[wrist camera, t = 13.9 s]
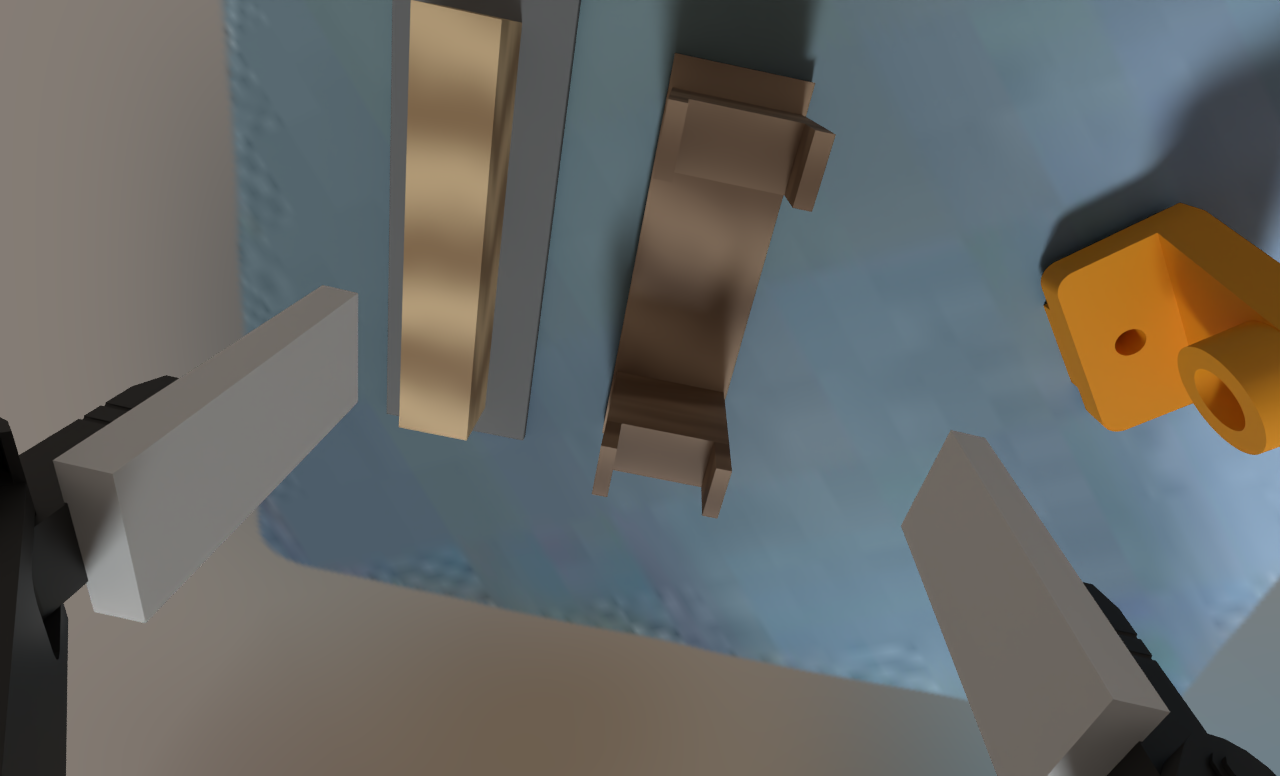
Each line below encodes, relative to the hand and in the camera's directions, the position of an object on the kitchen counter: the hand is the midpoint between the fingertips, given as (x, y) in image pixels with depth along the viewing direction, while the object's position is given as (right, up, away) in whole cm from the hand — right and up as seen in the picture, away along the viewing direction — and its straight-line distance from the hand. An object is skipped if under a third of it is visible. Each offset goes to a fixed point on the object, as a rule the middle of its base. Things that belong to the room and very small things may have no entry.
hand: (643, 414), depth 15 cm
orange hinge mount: (+27, +5, +23) cm, 36 cm away
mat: (-10, +10, +23) cm, 27 cm away
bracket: (+3, +7, +24) cm, 25 cm away
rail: (-10, +9, +23) cm, 26 cm away
